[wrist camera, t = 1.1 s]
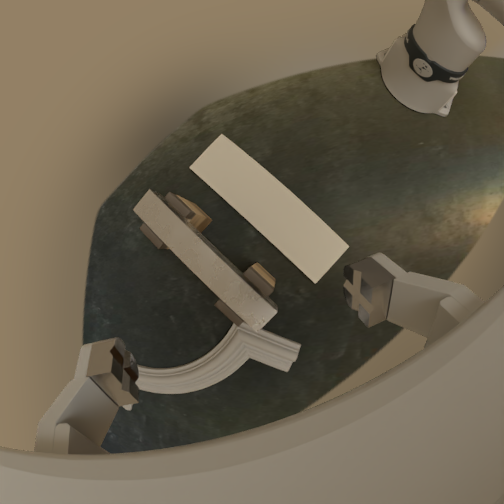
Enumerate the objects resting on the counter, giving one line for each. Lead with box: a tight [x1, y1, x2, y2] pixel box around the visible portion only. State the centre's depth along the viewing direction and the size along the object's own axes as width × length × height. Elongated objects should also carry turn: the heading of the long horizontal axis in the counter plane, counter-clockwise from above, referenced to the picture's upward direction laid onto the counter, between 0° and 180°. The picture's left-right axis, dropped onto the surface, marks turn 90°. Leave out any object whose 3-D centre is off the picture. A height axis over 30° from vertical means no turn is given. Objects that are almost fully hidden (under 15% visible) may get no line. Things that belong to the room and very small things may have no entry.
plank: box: [190, 134, 349, 284], centre depth 44 cm, size 8×28×1 cm, turn 47°
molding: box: [123, 321, 301, 410], centre depth 45 cm, size 42×12×3 cm, turn 113°
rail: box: [133, 189, 278, 332], centre depth 34 cm, size 4×22×4 cm, turn 47°
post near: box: [214, 262, 276, 327], centre depth 39 cm, size 6×4×12 cm, turn 137°
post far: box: [139, 192, 212, 249], centre depth 40 cm, size 6×4×12 cm, turn 137°
